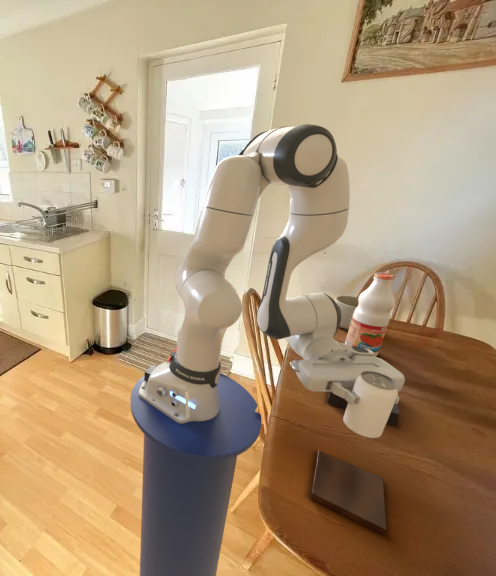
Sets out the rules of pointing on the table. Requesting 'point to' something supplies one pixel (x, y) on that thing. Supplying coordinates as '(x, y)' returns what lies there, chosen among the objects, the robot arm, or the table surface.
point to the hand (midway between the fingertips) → (375, 401)
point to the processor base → (343, 403)
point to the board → (349, 491)
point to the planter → (346, 309)
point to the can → (371, 404)
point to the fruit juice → (372, 314)
